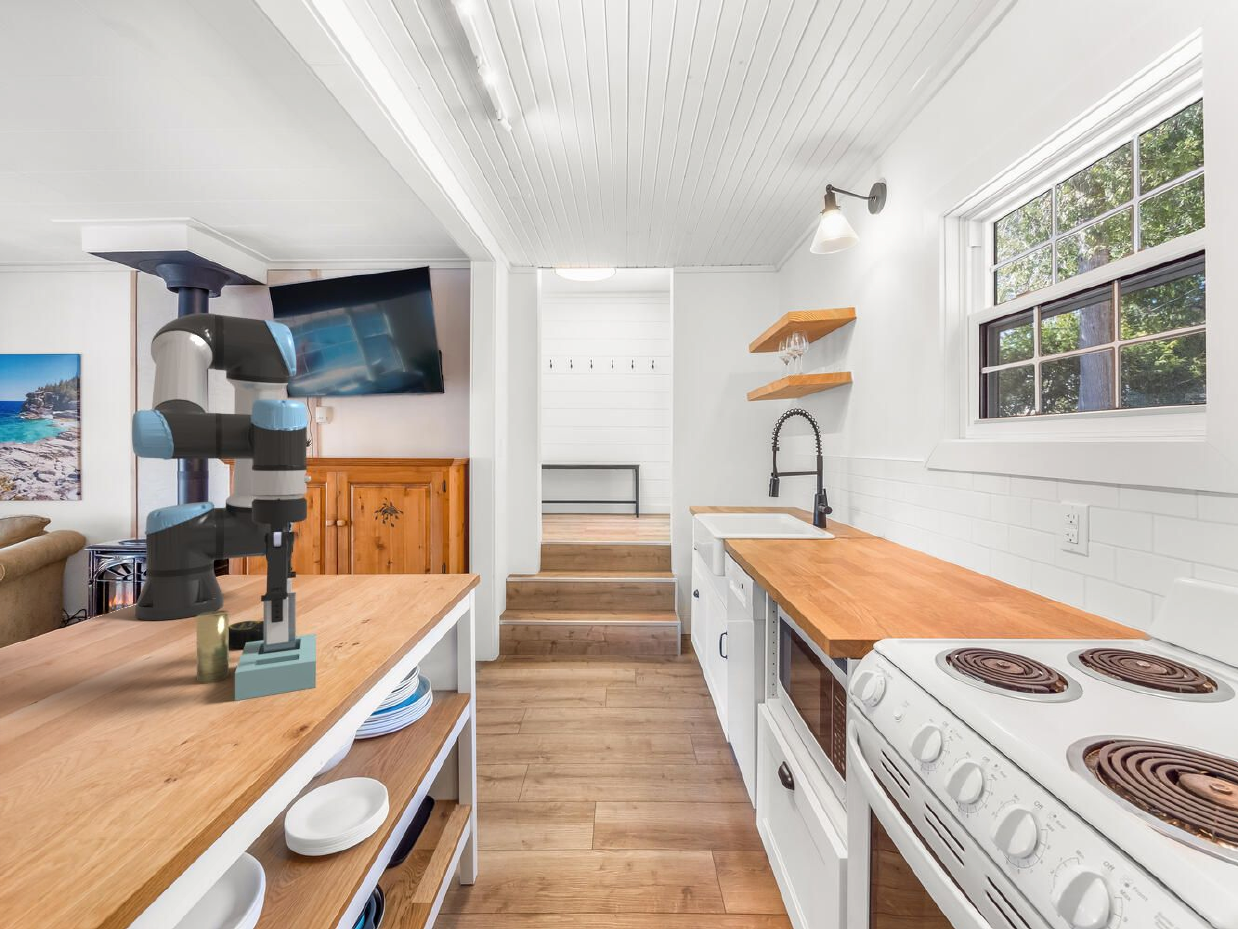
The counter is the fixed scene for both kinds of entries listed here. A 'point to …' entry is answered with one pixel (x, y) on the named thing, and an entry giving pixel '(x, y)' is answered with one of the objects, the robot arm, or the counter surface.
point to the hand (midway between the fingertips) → (280, 629)
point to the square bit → (291, 628)
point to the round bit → (212, 646)
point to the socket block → (276, 669)
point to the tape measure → (245, 633)
